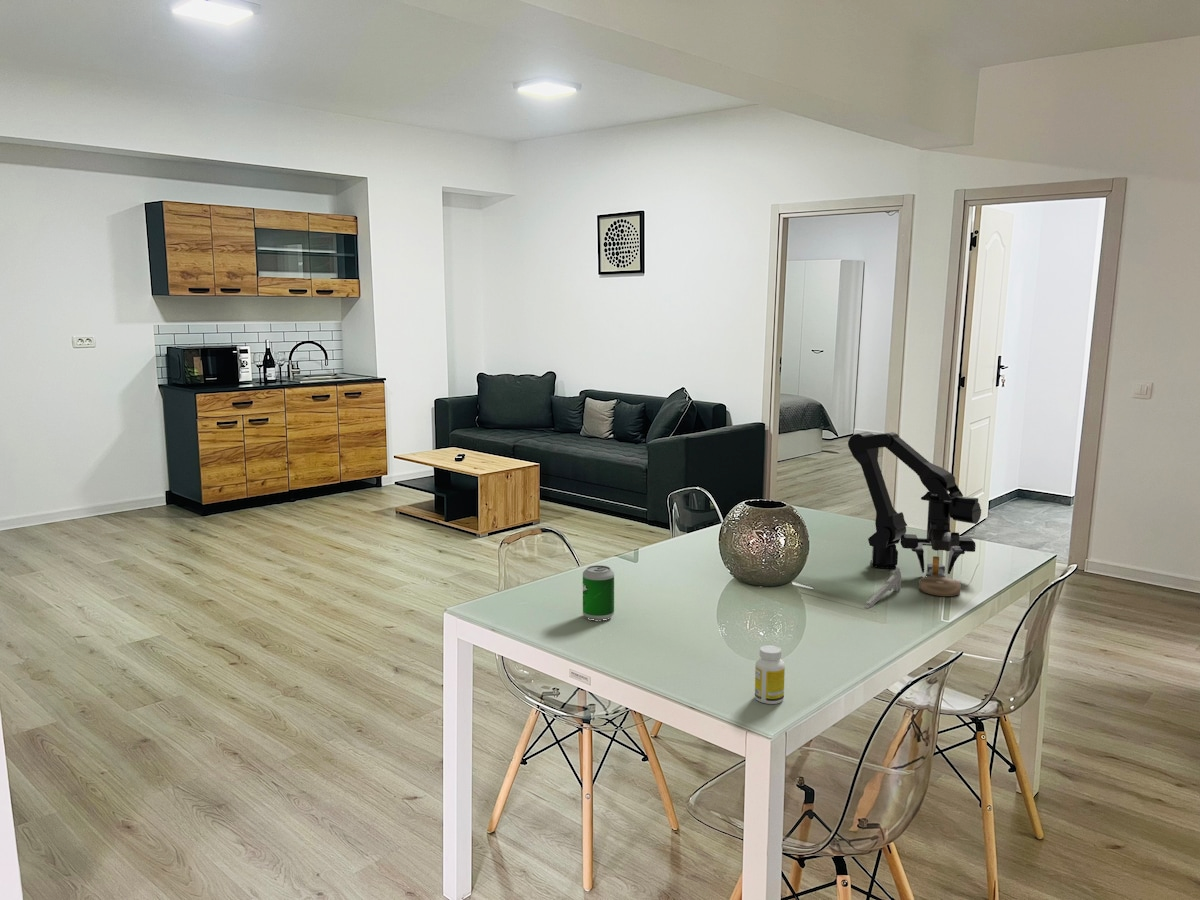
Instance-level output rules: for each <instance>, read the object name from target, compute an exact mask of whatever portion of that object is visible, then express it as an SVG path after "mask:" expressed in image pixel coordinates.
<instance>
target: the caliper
mask: <svg viewBox="0 0 1200 900" xmlns="http://www.w3.org/2000/svg"><path fill="white" fill-rule="evenodd" d="M893 573H894V574H892V575H891V576H890V577H889V578H888V579H887V580H886V583H884V584H883V586H881V587H880V589H878V590H877V591H876V592H875V593H874V594H873V595H872V596H871V597H870V598H869V599H868V600H867V601H866V602H865V603H866V604H865V605H864V606H863V608H864V609H869V608H872V607H873V606H874V605H876V603H877V602H878V601H879V600H881V599H882V597H884V595H885V594H886V593H887V592H888V591H889V592H890V591H893V590H894V591H893V592H899V590H901V588H902V573H901V568H898V567H896V569H893ZM898 589H899V590H898Z"/></svg>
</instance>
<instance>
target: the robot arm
mask: <svg viewBox="0 0 1200 900" xmlns="http://www.w3.org/2000/svg"><path fill="white" fill-rule="evenodd" d="M847 446H848V449H849V451H850V453H851V456H852V457H853V458H854V459H855V461H857V463H858V464H859V465H860V466H861V467H860V468H861V470H862V473H863V475H864V479H865V481H866V485H867V488H868V492H869V494H870V497H871V500H872V504H873V507H874V510H875V521H874V522H875V523H874V526H875V530H876V531H875V532H874V533H873V534H872V535H870V536H869V537H868V538H867V540H868V544H869V546H870V547H871V548H872V549H871V559H870V563H871V566H872V568H878V569H879V568H880V569H893V570H896V568H897V566H898V558H899V552H898V551H899V550H898V549H897V544H900V545H901V547H902V549H910V550H911V551H912V552H914V553H915V554H916V556H917V559H918V562H919V566H920V567H919V568H920V570H921V573H922V574H924V573H925V561H924V560H925V559H924V552H925V551H924V549H923V546H927V547H928V546H929V547H931V550H933V551H936V552H937V551H945V552H949V553H948V559H947V560H948V562H947V568H946V569H947V570H946V571H947V572H946V573H947V575H950V574H951V572H952V570H953V568H954V565H955V563H956V562H957V559H958V558H959V557H960V556H961V555H965V553H966V552H968V553H970V552H971V553H974V552H976V547H977V546H976V542H975V541H974V539H973V538H972V537H970V536H961V535H960V532H953V531H952V532H951V527H950V526H951V519H952V520H953V521H954V522H955V521H956V522H962V523H966V524H967V523H968V524H972V525H973V524H974V525H976V524H978V523H979V521H980V519H981V516H982V509H981V505H980V503H979V498H978V497H966V496H964V495H963V493H962V491H961V490H960V488H959V487H958V485H957V483H956V477H955V476H954V475H953V473H951V472H949V471H948V470H946V468H945V469H944V468H943V467H941V466H939V465H936V464H933V462H930V461H929V460H927V459H926V458H925V456H923V455H921V454H920V453H919V452H918V451H917V450H916V449H914V448H913V447H912V446H911V445H910V444H908V443H907V441H905V440H904V439H902V438H901V437H900V435H899V434H898V433H896V432H894V431H892V432H887V433H886V432H885V433H880V434H879V433H878V434H874V433H873V432H870V431H865V432H860V433H853V434H852V435H851V436H850V437H849V440H847ZM879 448H885V449H887V450H888V451H889V452H891V453H892V454H893V455H894V456H895V457H897V458H898V459H899V460H900V461H901V462H902V463H904V464H905V465H906V466H907V467H908V468H910V469H911V471H913V472H914V473H915V474H916V475H917V476H918V478H919V480H920V482H921V483H922V485H923V486H924V487H925V488H926V490H928V491H926V493H925V494H924V495H922V496H921V497H920V500H921V501H928V508H927V509H928V510H927V525H926V526H927V527H926V538H922V537H921V538H920V537H918V536H917V534H910V533H908V534H907V527H908V524H907V523H906V520H905V516H904V515H905V514H904V513H903V512H902V511H901V512H897V510H896V509H894V507H893V506H894V505H893V503H892V500H891V498H890V494H889V492H888V489H887V485H886V483H885V479H884V476H883V474H882V470H881V467H880V465H879V459H878V458H879V452H880V451H879Z"/></svg>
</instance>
